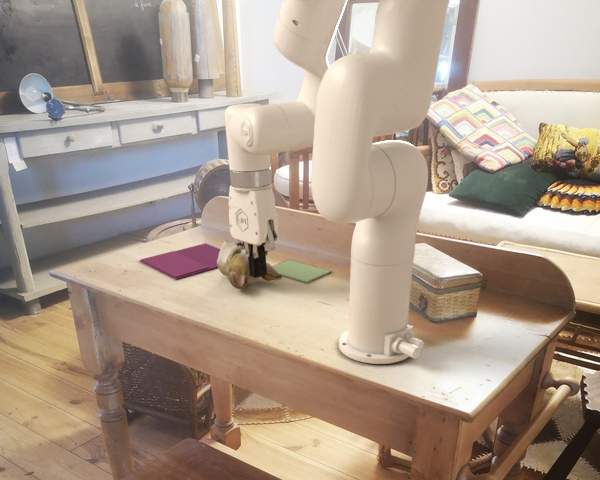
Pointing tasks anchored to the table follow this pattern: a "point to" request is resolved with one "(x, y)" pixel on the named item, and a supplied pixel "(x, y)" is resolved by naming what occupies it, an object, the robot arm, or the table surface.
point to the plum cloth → (185, 261)
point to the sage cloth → (299, 271)
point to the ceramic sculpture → (240, 265)
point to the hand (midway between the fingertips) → (258, 275)
